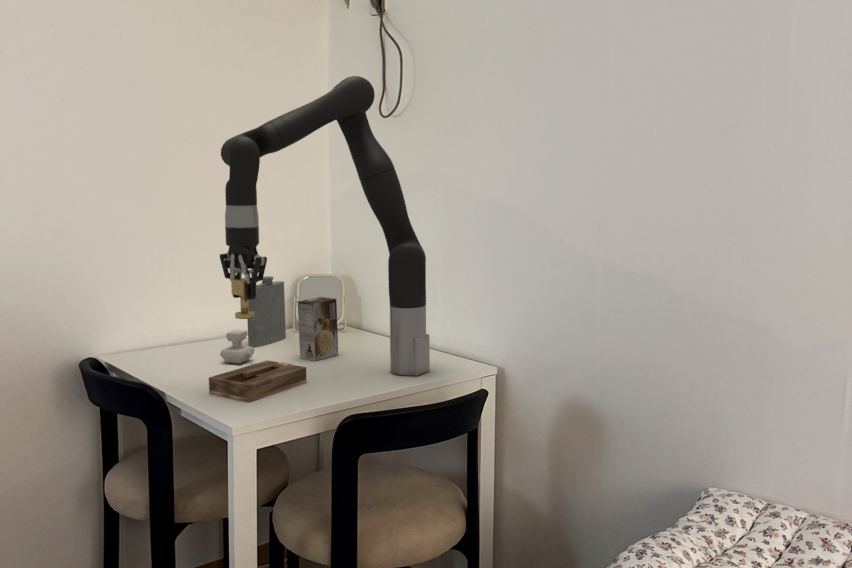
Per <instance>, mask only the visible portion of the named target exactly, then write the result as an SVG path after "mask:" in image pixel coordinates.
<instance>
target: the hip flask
mask: <svg viewBox="0 0 852 568" xmlns="http://www.w3.org/2000/svg"><path fill="white" fill-rule="evenodd" d="M273 280H274V276H268V275H267V276H265V275H264V276H263V280H262V281H261V283H260V284H256V293H257V294H256V297H255V299H252V300H248V309H249V311H251V312H254V318H250V319H246V320H247V340H248V342H247V343H248V345H247V346H250V347H253V348H254V349H255V348H261V347H264V346H268V345H270V344H271V345H272V344H275V343H276V342H280V341H282V340H285V339H286V338H287V330H286V326H287V325H286V305H285V304H286V302H285V301H286V299H285V298H286V297H285V296H286V295H285V281H283V280H282V281H281V280H280V281H279V280H278V281H273Z"/></svg>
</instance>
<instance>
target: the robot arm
mask: <svg viewBox="0 0 852 568" xmlns="http://www.w3.org/2000/svg"><path fill="white" fill-rule="evenodd" d="M375 97H376V95H375V89H374V87H373V85H372V83H371V82H370V81H369V80H368V79H366V78H365V77H363V76H360V75H352V76H348V77H346V78H344V79H343V80H341V81H340V82H339V83H337V84H336V85H335V86H334V87H333V88H332V90H330V91H328V92H327V93H325V94H323V95H321V96H320V97H317V98H315V99H314V100H312V101H309V102H308V103H306V104H304V105H301V106H299V107H297V108H295V109H293V110H290V111H287V112H285V113H284V114H281V115H279V116H277V117H275V118H273V119H270V120H268V121H266V122H265V123H263V124H261V125H259V126H257V127H256V128H253V129H250V130H247V131H245V132H242V133H240V134H238V135H234V136H232V137H231V138H229V139H227V140H226V141H225V142H224V143H223V144H222V147H221V148H220V157H221V160H222V161H223V162H224V164H225V165H227V166H228V167H229V175H228V176H229V179H228V181H226V184H225V188H224V189H225V191H224V192H225V195H224V196H225V211H224V213H225V214H224V224H225V225H224V228H225V245H226V246H227V247H228V250H227V252H225V253H220V254H219V259H220V263H221V267H222V270H223V275H224V278H225V279H229V281H230V282H231V279H238V278H243V277H242V276H243V275H244V278H245V279H246V283H247V284H246V299H247V300H252V299H255V297H256V285H257V283H258V282H262V280H263V277H265V271H266V268H267V267H266V266H267V262H268V261H267V260H268V258H267V256H261V255H259V252H258V250H257V249H258V248H257V246H258V245H259V244H260V225H259V224H260V223H259V219H260V218H259V210H258V194H257V193H258V191H257V182H258V178H259V171H260V162H261V158H262V157H265V156H266V155H269V154H274V153H277V152H279V151H281V150H284V149H285V148H288V147H290V146H291V145H293V144H295V143H297V142H299V141H300V140H303V139H305V138H306V137H307V136H309V135H311V134H312V133H314V132H316V131H318V130H320V129H321V128H322V127H325V126H326V125H328V124H330V123H333V122H334V121H336V122H337V124H338V126H339V128H340V130H341V132H342V134H343V137H344V139H345V142H346V144H347V146H348V150H349V153H350V155H351V159H352V162H353V163H354V164H353V165H354V167H355V169H356V172H357V176H358V179H359V181H360V186H361V188H362V190H363V193H364V196H365V198H366V201H367V202H368V205H369V206H370V208H371V210H372V212H373V214H374V216H375V217H376V220H377V222H378V223H379V225H380V226H381V227H380V228H381V229H382V232H383V235H384V238H385V241H386V246H387V249H388V254H389V257H388V260H387V261H388V263H387V265H388V266H387V267H388V271H387V272H388V274H387V275H388V297H389V298H388V299H389V352H390V353H389V356H390V357H389V358H390V359H389V361H390V373H391V374H395V375H398V376H415V377H418V376H420V375H422V374H424V373H427V372H430V370H431V368H430V366H431V365H430V363H431V361H430V359H431V357H430V354H431V353H430V349H431V348H430V334H428V333H427V288H426V287H427V283H426V282H427V281H426V280H427V276H426V273H427V270H426V267H427V262H426V261H427V256H426V253H425V249H424V248H423V247H422V245H421V242H420V241H419V239H418V236H417V234H416V232H415V230H414V227H413V226H412V223H411V220H410V217H409V214H408V209H407V204H406V201H405V198H404V196H405V195H404V193H403V190H402V186H401V183H400V179H399V176H398V174H397V171H396V168H395V165H394V163H393V160H392V159H391V158H390V156H389V154H388V153H387V152H386V150H385V149H384V148H383V147H382V145H381V144H380V143H379V141H378V140H377V139H376V137H375V135H374V133H373V131H372V128H371V126H370V125H371V124H370V123H369V119H368V115H367V112H368V110H369V109H370V108H371V107H372V105H373V103H374V102H375ZM232 297H233V298H234V299H237V298H239V299H240V295H233V294H232Z"/></svg>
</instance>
